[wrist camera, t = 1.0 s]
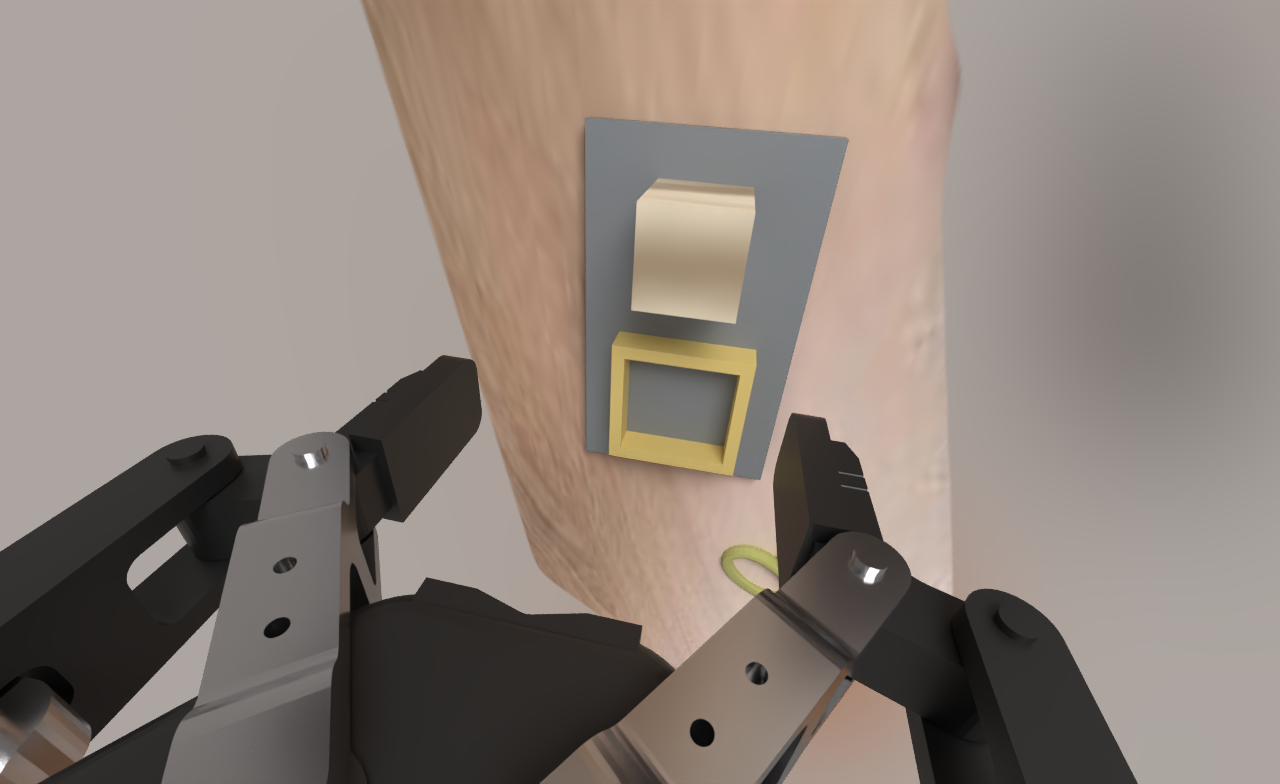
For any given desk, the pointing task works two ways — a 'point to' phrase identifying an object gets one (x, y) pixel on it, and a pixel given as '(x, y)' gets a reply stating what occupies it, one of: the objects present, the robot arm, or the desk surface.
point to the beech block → (692, 249)
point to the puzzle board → (686, 347)
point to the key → (752, 554)
